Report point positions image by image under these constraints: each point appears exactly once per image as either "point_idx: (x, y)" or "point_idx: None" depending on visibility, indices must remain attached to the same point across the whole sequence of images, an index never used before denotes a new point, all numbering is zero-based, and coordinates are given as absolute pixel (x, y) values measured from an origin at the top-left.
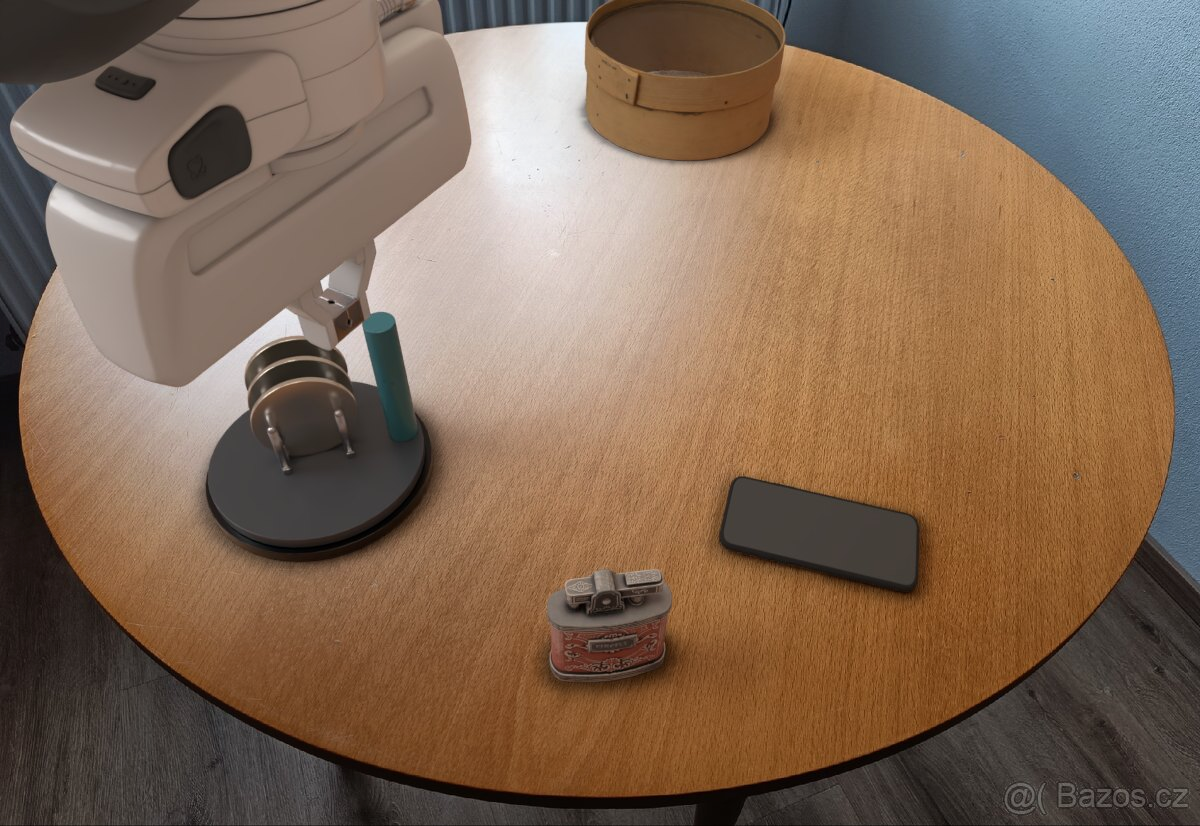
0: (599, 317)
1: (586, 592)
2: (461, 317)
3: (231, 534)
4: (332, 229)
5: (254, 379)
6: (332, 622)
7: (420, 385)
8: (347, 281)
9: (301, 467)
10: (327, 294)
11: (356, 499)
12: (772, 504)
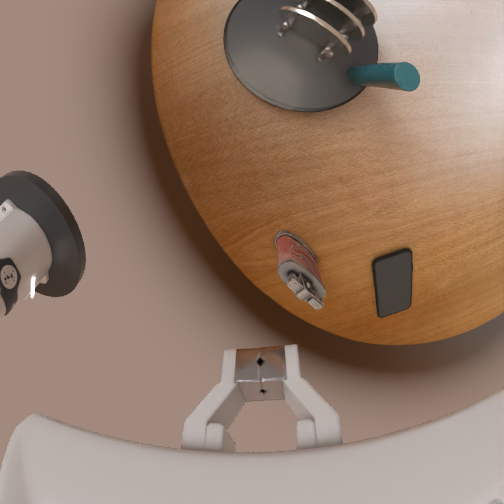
0: (483, 131)
1: (294, 290)
2: (451, 50)
3: (224, 40)
4: None
5: None
6: (225, 129)
7: (396, 53)
8: (292, 404)
9: (290, 38)
10: (270, 384)
11: (293, 87)
12: (400, 269)
